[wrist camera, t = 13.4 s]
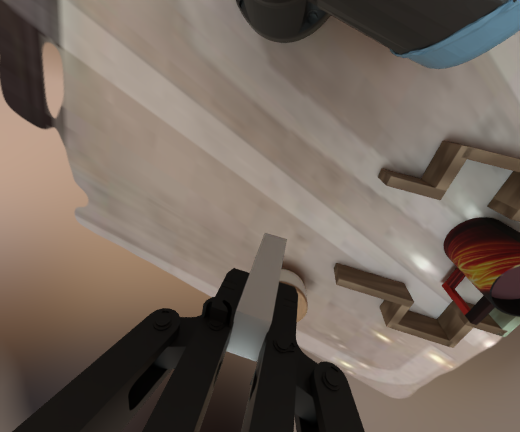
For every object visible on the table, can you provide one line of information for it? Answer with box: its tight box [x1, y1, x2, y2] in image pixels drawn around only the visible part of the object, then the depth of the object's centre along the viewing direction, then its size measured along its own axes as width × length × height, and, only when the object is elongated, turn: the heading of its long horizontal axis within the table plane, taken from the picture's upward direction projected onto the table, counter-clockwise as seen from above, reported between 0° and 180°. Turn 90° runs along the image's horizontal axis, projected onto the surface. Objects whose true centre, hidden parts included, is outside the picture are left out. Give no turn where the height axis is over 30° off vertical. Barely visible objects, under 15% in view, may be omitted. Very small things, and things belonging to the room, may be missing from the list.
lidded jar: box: [279, 269, 308, 322], centre depth 48 cm, size 11×11×9 cm
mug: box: [442, 217, 520, 325], centre depth 36 cm, size 10×14×12 cm
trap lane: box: [334, 141, 520, 348], centre depth 40 cm, size 34×31×5 cm
